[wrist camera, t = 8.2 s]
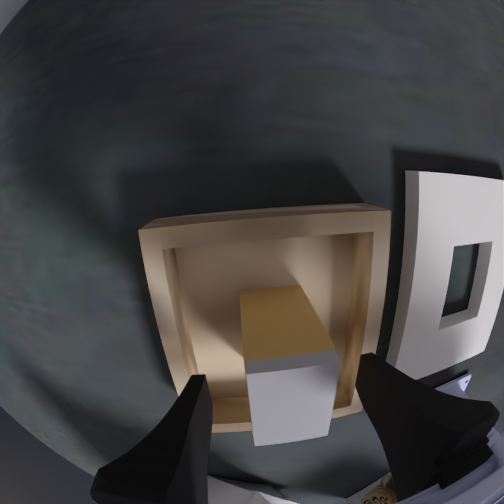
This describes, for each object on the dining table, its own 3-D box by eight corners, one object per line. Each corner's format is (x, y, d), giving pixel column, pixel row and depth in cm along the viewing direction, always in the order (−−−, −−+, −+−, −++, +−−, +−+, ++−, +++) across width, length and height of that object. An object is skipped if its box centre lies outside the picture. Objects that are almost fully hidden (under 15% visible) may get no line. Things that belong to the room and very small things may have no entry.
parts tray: (348, 385, 19) (361, 411, 16) (195, 403, 19) (191, 432, 16) (365, 202, 15) (391, 210, 12) (155, 218, 15) (138, 230, 12)
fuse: (299, 354, 17) (328, 436, 11) (246, 360, 17) (253, 447, 10) (300, 285, 16) (341, 359, 9) (239, 290, 16) (244, 372, 9)
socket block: (475, 343, 20) (484, 350, 18) (381, 377, 19) (388, 388, 18) (504, 180, 15) (516, 182, 14) (405, 170, 15) (418, 171, 13)
